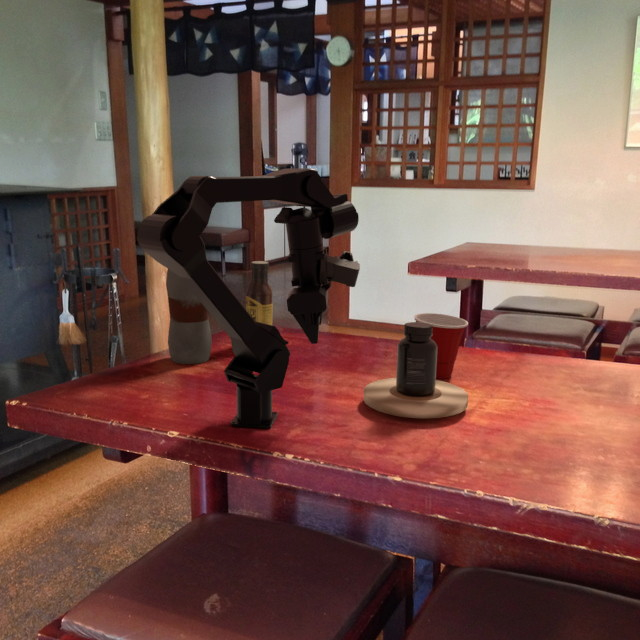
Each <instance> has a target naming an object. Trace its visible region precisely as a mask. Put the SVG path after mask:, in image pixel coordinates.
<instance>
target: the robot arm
mask: <svg viewBox="0 0 640 640" xmlns="http://www.w3.org/2000/svg"><path fill="white" fill-rule="evenodd" d="M257 201H258V202H259V201H268V202H272V203H277V204H281V205H282V204H284V205H293V206H294V205H295V206H296V207H300V208H295V209H293V207H289V206H288V207H285V206H284V207H281V209H280V211H279V213H278V214H276V216H275V217H274V219H273V222H274V223H275V224H283V225H284V224H285V227H286V229H285V230H286V235H287V242H288V244H287V245H288V252H289V254H288V256H287V258H288V263H290V267H291V274H292V276H291V280H290V281H291V287H293V288H292V290H291V291H290V292H289V293H288V296H287V298H286V306H287V307H286V308H287V311H288V312H289V313H290V315H292V316H293V317H294V320H295V321H296V322H297V324H298V325H299V326H300V328H301V330H302V331H303V333H304V335H305V336H306V337H307V338H306V339H308V341H309V342H310V344H311V345H316V344H318V343H319V334H320V333H319V332H320V331H319V330H320V326H321V325H322V320H323V313H324V312H326V311H327V310H328V305H329V302H328V300H329V299H328V297H329V296H328V291H329V290H330V288H331V286H332V282H333V283H334V282H335V283H339V284H342V285H346V286H347V287H350V288H355V287H356V285H357V280H358V276H359V274H360V270H361V269H360V268H361V264H360V263H359V262H358V261H357V260H355V261H354V257H353V256H354V255H353V252H351V251H348V250H347V251H346V250H343V251H342V252H341V253H340V254H339V255H338V256H337V255H335V256H332V255H331V256H330V255H328V252H327V250H328V249H327V248H325V246H324V240H323V239H325V240H328V239H332V238H335V237H338V236H341V235H345V234H347V233H352V232H353V231H355V230H356V228H358V227H357V226H358V225H359V212H358V211H357V209H356V207H355V206H354V204H353V203H352V201H349V197H348V194H347V193H335V194H332V193H331V191H330V190H329V189H328V187H327V186H326V185H325V183H324V182H323V180H322V177H321V175H320V174H319V171H318V170H316V169H315V168H307V167H306V168H304V167H303V168H283V169H279V170H273V171H271V172H269V173H267V174H264V175H257V176H256V175H254V176H251V175H250V176H249V175H247V176H211V175H191V176H189V177H188V178H186V179H185V180H183V182H182V184H181V185H180V186H179V188H177V190H176V191H174V193H172V194H171V195H170V196H168V197H167V198H166V199H165V200H164V201H162V202H161V203H160V204H159V205H158V206H157V207H156V208H155V210H154V211H153V212H152V214H150V215H148V216H146V217H144V219H143V220H142V221H141V222H140V224H139V226H138V229H137V237H136V241H137V242H138V243H137V244H138V245H139V247H140V248H141V250H142V251H144V252H145V253H146V254H147V255H149V256H150V257H151V258H152V259H153V260H154V261H156V262H157V263H158V264H160V265H161V266H163V267H165V268H167V270H168V269H169V270H171V271H172V272H174V273H176V274H177V275H178V276H179V277H180V278H181V279H182V280H183V281H184V283H185V284H186V285H187V286H188V287H189V289H190V290H191V291H192V292H193V293H194V295H195V296H196V297H197V298H198V299H199V301H200V302H201V303H202V304H203V305H204V307H205V308H206V309H207V310H208V311H209V314H210V316H211V317H212V318H213V319H214V320H215V321H216V323H217V324H218V325H219V326H220V327H221V329H223V331H224V332H225V333H226V335H228V337H229V339H230V341H231V349H232V352H233V354H234V356H233V358H232V359H231V360H230V362H229V363H228V364H227V365H226V367H225V369H224V370H223V371H224V375H225V378H226V381H227V382H230V383H233V384H236V415H235V416H234V417H233V418H232V420H231V422H230V426H231V427H240V428H258V429H270V428H272V426H273V424H274V423H275V421H276V419H277V417H278V412H277V411H273V390H278V389H282V387H283V384H284V381H285V378H286V374H287V369H288V368H289V367H288V366H289V363H290V357H291V352H290V349H289V347H288V346H287V345H288V344H289V341H288V340H286V339H284V338H283V336H282V334H281V332H280V331H279V329H278V328H277V327H276V326H275V325H273V324H272V325H268V324H264V323H260V322H256V321H254V320H253V318H252V317H251V316H250V315H249V313H248V312H247V311H246V307H244V306H243V304H242V303H241V302H240V301H239V299H238V297H236V295H235V294H234V292H233V291H232V290H231V289H230V288H229V287H228V285H227V284H226V282H224V280H223V279H222V277H221V276H220V275H219V274H218V273H217V271H216V270H215V268H214V267H213V266H212V264H210V262H209V260H208V258H207V253H206V246H205V242H204V240H203V238H202V236H201V235H202V233H203V232H204V231H205V229H206V228H207V227H208V225H209V221H210V218H211V214H212V212H213V211H212V210H213V209H214V207H215V205H216V204H220V203H221V204H223V203H237V202H238V203H239V202H257ZM306 207H308V208H306ZM309 208H310V209H309ZM254 372H255V373H254ZM256 373H257V374H256Z"/></svg>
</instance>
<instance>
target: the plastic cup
mask: <svg viewBox="0 0 640 640" xmlns="http://www.w3.org/2000/svg"><path fill="white" fill-rule="evenodd" d="M413 317H414V321H415V322H422V323H428V324H431V325H432V326H433V327H432V333H433V335H432V336H431V339H432V340H434V341H435V342H436V344H437V366H436V380H442V379H443V380H444V379H448V378H449V379H450V377H452V374H453V371H454V366H455V362H456V360H457V355H458V351H459V348H460V344H461V341H462V337H463V334H464V333H465V329H466V328H467V327H468V325H469V322H468V321H467V320H466V319H464V318H461V317H458V316H453V315H450V314H443V313H432V312H430V313H429V312H423V313H417V314H414V316H413Z"/></svg>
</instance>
